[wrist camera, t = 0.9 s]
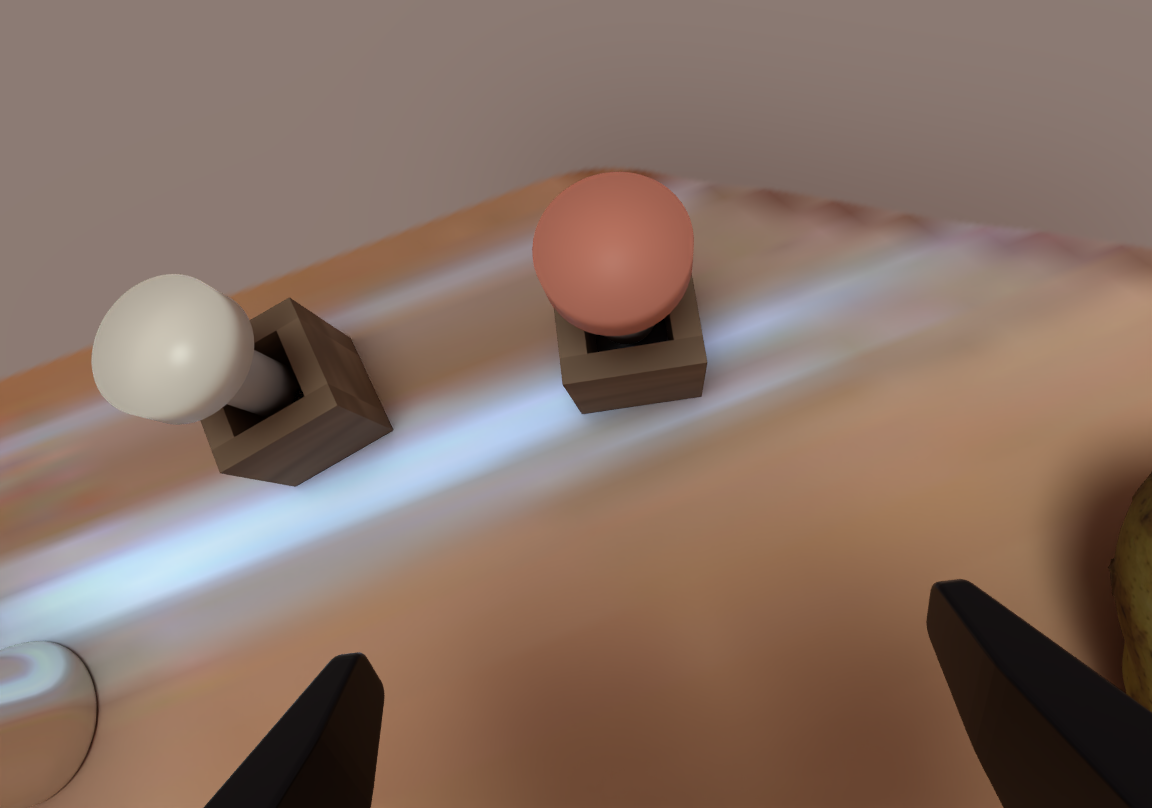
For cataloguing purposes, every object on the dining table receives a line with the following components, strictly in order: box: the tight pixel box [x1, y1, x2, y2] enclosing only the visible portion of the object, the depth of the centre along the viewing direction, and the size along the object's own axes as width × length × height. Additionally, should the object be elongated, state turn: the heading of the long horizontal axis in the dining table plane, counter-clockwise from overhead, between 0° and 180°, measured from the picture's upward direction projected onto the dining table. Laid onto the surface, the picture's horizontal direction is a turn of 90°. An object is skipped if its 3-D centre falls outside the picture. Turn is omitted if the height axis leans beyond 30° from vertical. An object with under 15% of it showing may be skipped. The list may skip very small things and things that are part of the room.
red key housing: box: [554, 273, 707, 414], centre depth 23 cm, size 5×5×4 cm
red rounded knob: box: [532, 172, 694, 345], centre depth 19 cm, size 4×4×5 cm
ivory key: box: [92, 274, 297, 425], centre depth 20 cm, size 4×4×5 cm
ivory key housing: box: [201, 298, 393, 487], centre depth 24 cm, size 5×5×4 cm
